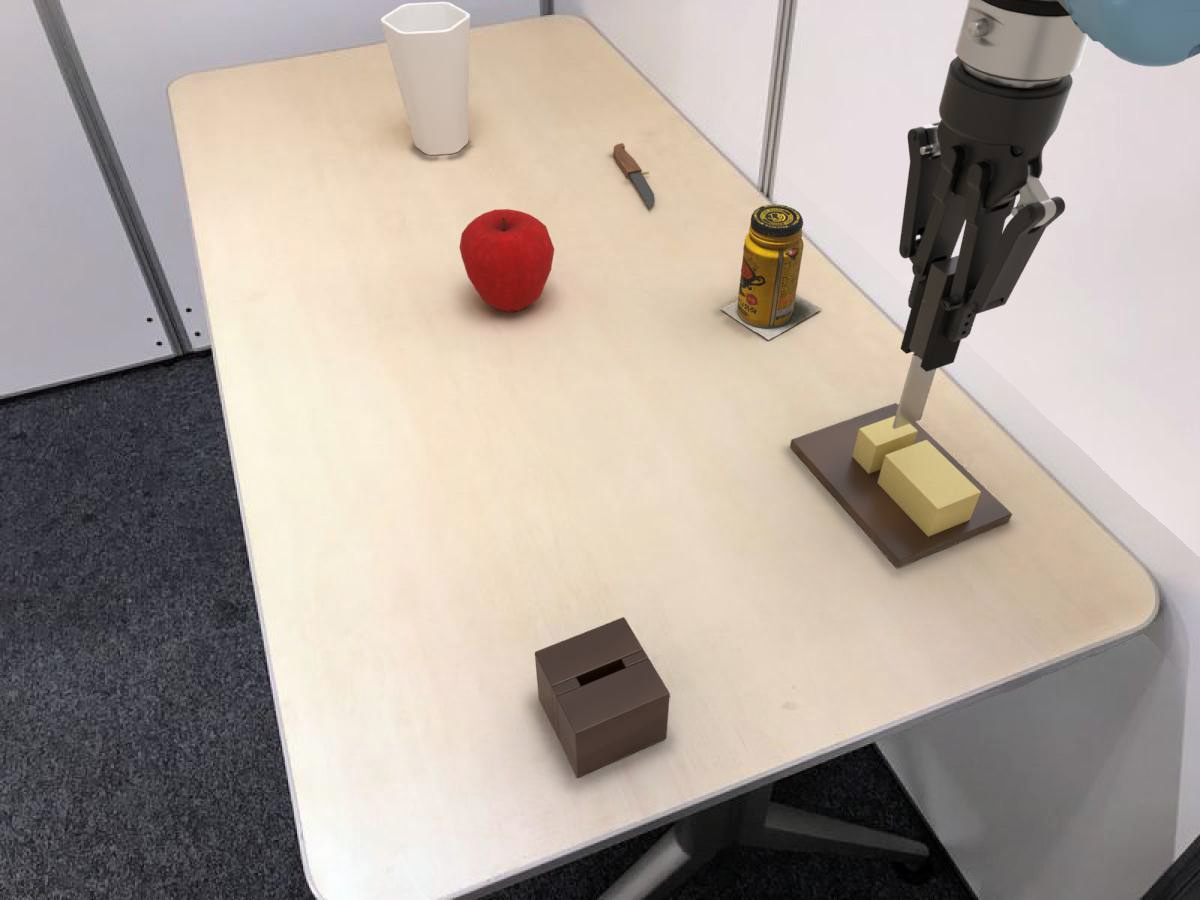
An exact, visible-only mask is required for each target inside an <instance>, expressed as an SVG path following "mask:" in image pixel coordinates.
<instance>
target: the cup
mask: <svg viewBox="0 0 1200 900" xmlns="http://www.w3.org/2000/svg"><path fill="white" fill-rule="evenodd" d="M380 24H381V27H382V31H383V35H384V38H385V42H386V45H387V49H388V52H389V56H390V60H391V63H392V68H393V71H394V74H395V79H396V82H397V85H398V89H399V93H400V96H401V99H402V102H403V107H404V111H405V115H406V117H407V122H408V124H409V129H410V133H411V136H412V140H413V143H414V146H415V148H418V149H419V150H420V151H421V152H422V153H424V154H425V155H428V156H429V155H430V156H436V155H437V156H438V155H451V154H455V153H456V154H457V153H458V152H460V151H461V150H462V149H463V148H464V147H465V146H466V145H467V144H469V114H470V113H469V112H470V111H469V110H470V109H469V108H470V107H469V105H470V47H471V46H470V40H471V39H470V38H471V32H470V31H471V29H470V28H471V14H470V12H467V11H466V10H464V9H462V8H460V7H458V6H456V5H455V4H453V3H451V2H448V1H433V2H432V1H431V2H411V3H410V2H409V3H405V4H401V5H399V6H397V7H396V8H395V9H393V10H392V11H390V12H388V13H387V14H385V15H383V16H382V17H381V18H380Z"/></svg>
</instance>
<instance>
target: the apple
mask: <svg viewBox="0 0 1200 900" xmlns="http://www.w3.org/2000/svg"><path fill="white" fill-rule="evenodd" d="M459 251H460V256H461V259H462V262H463V263H462V264H463V266H464V269H465V272H466V275H467V278H468V280H469V281H470V283H471V284H472V286H473V288H474V289H475V291H476V293H477V294H478V296H479V297H480V298H481V299H482V301H483V302H484V303H485V304H487V305H489V306H491V307H493V308H495V309H497V310H498V311H501V312H502V311H503V312H507V313H512V312H518V311H520V310H523V309H524V308H526V307H528V306H531V305H532V304H534V303H535V302H536V301H538V300H539V299H540V298H541V295H542V293H543V291H544V289H545V286H546V284H547V281H548V279H549V276H550V273H551V271H552V266H553V262H554V261H553V260H554V255H555V247H554V244H553V242H552V239H551V236H550V233H549V230H548V228H547V225H546V224H544V223H543V222H542V221H541V220H540V219H538V218H536V217H535V216H533V215H532V214H529V213H527V212H524V211H521V210H515V209H510V208H503V209H502V208H501V209H500V208H499V209H494V210H490V211H486V212H484V213H482V214H480V215H479V216H477V217H474V219H473V220H471V221H470V222H469V223H468V224H467V225H466V227H465V228H464V230H463V231H462V232H461V236H460V242H459Z"/></svg>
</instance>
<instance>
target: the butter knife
mask: <svg viewBox="0 0 1200 900" xmlns="http://www.w3.org/2000/svg"><path fill="white" fill-rule="evenodd" d="M958 257H959V254H958V255H955V256H951V258H948V259H945V260H942V261H939V262H935V263H932V264H931V268H930V272H929V275H928V279H927V282H926V286H925V290H924V293H923V297H922V301H921V304H920V308H919V311H918V315H917V319H916V322H915V326H914V330H913V333H912V337H911V340H910V344H909V349H910V350H911V351H912V352H911V353H913V354H912V356H911V359H910V364H909V367H908V371H907V373H906V377H905V381H904V385H903V388H902V391H901V396H900V399H899V402H898V405H899V406H898V409H897V413H896V416H895V420H894V423H893V428H894V429H896V428H899V427H902V426H904V425H907V424H910V423H913V422H915V421H916V422H917V421H921V420H922V417H923V414H924V411H925V407H926V404H927V401H928V399H929V394H930V391H931V387H932V385H933V381H934V378H935V375H936V371H937V368H936V369H933V370H931V371H928V372H926V371H925V370H924V369H923V368H921V367H920V366H921V362H922V359H923V355H924V352H925V349H926V345H927V342H928V338H929V335H930V332H931V328H932V325H933V321H934V318H935V314H936V311H937V308H938V304H939V301H940V299H942V298H945V297H948V296H950V294H951V289H952V285H953V280H954V275H955V271H956V266H957V261H958Z"/></svg>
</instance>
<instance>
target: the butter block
mask: <svg viewBox="0 0 1200 900" xmlns="http://www.w3.org/2000/svg"><path fill="white" fill-rule="evenodd" d="M877 483H878V484H879V485H880V486H881V487H882V488H883V489H884V490H885V492H886V493H887V494H888V495H889V496H890V497H891V498H892V499H893V500H894V501H895V502H896V503H897V504H898V505H899V506H900V507H901V509H902V510H903V511H904V512H905V513H906V514H907V515H908V516H909V517H910V518H911V519H912V520H913V521H914V522H915V523H916V524H917V526H918V527H919V528H920V529H921V530H922V531H923V532H924V533H925V534H926V535H927V536H928V537H929V536H932V535H934V534H936V533H939V532H941V531H944V530H946V529H949V528H951V527H954V526H956V525H958V524H961V523H963V522H966V521H968V520H970V519H971V516H972V514H973V511H974V508H975V506H976V503H977V501H978V498H979V496H980V493H981V491H979V490H978V489H977V488H976V487H975V486H974V485H973V484H972V483H971V482H970V481H969V480H968V479H967V478H966V477H965V476H964V475H963V474H962V473H961V472H960V471H959V470H958V469H957V468H956V467H955V466H954V465H952V464H951V463H950V462H949V461H948V460H947V459H946V458H945V457H944V456H943V455H942V454H941V453H940V452H939V451H938V450H937V449H936V448H935V447H934V446H933V445H932V444H931V443H930V442H929V441H928V440H924V441H922V442H919V443H916V444H914V445H911V446H908V447H906V448H903V449H900V450H898V451H895V452H892V453H889V454H887V455H885V458H884V461H883V465H882V468H881V472H880V475H879V479H878V482H877Z"/></svg>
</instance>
